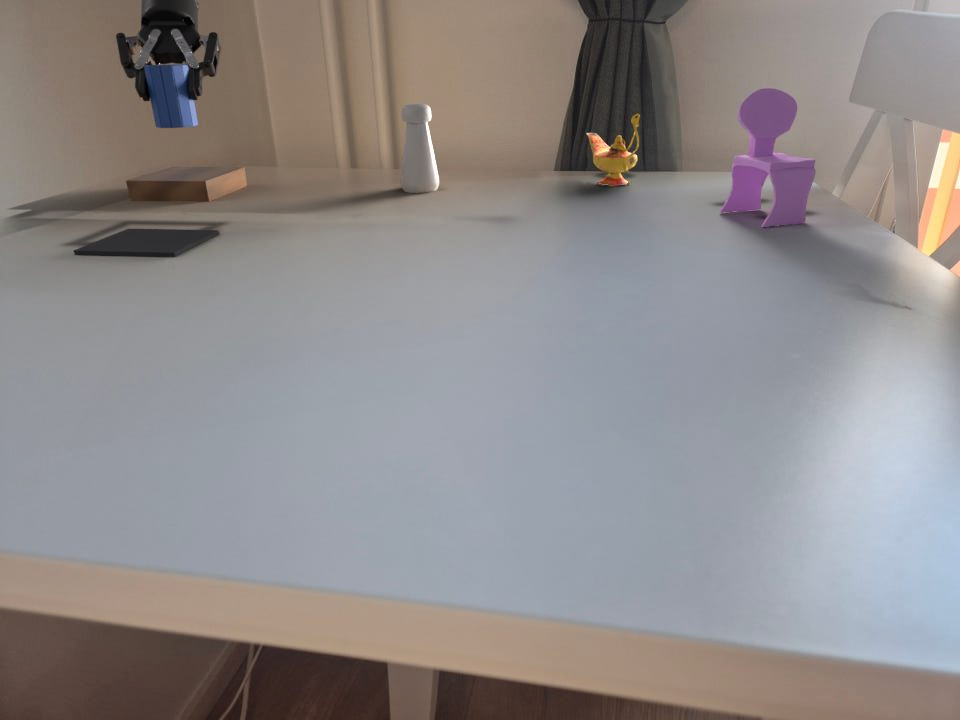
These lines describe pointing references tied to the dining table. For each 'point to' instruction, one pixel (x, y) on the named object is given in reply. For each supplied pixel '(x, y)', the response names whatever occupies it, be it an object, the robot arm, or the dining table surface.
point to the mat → (147, 242)
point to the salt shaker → (418, 151)
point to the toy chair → (770, 161)
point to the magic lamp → (614, 156)
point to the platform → (187, 184)
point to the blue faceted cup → (170, 96)
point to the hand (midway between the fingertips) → (169, 96)
